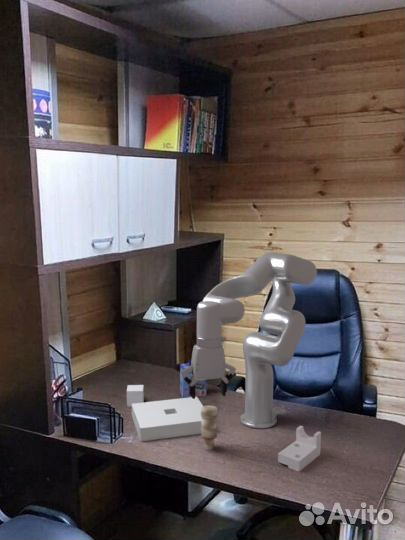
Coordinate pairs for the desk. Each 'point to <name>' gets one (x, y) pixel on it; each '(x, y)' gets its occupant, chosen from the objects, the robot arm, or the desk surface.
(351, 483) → the desk surface
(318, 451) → the bracket
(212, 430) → the beech leg
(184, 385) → the ink cartridge box
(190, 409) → the socket block
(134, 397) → the white cube
